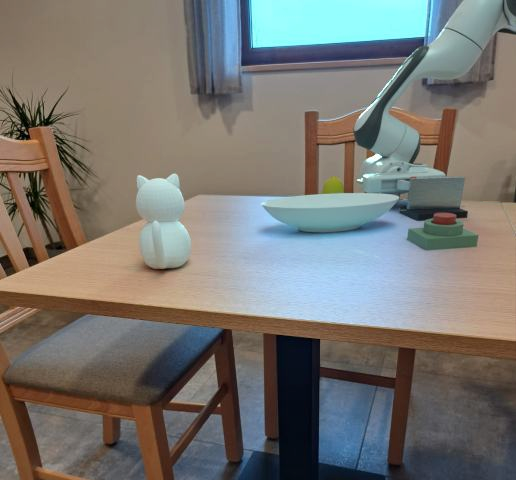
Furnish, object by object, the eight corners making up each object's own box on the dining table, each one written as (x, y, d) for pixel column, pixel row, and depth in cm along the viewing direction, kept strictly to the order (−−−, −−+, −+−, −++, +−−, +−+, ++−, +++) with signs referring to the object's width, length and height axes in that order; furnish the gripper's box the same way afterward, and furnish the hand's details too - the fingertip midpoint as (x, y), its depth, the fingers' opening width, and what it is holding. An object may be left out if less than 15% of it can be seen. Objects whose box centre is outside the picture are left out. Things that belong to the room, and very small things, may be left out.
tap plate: (446, 206, 118) (447, 199, 117) (483, 220, 104) (484, 212, 103) (386, 210, 116) (386, 203, 115) (415, 224, 102) (416, 217, 101)
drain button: (448, 221, 89) (449, 212, 88) (459, 226, 85) (460, 216, 85) (428, 222, 88) (429, 213, 88) (438, 227, 85) (440, 217, 84)
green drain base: (454, 236, 93) (457, 215, 91) (476, 246, 86) (480, 225, 84) (406, 239, 92) (409, 219, 90) (425, 250, 85) (428, 228, 83)
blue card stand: (457, 207, 110) (463, 175, 106) (460, 208, 108) (465, 176, 105) (406, 208, 110) (410, 176, 107) (407, 209, 109) (411, 177, 106)
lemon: (322, 206, 124) (323, 174, 120) (343, 206, 123) (345, 174, 119) (320, 210, 119) (322, 177, 115) (342, 210, 118) (344, 177, 114)
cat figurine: (193, 254, 87) (185, 170, 80) (191, 275, 76) (182, 180, 69) (145, 256, 87) (132, 172, 80) (136, 278, 76) (121, 183, 69)
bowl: (267, 241, 93) (266, 211, 91) (257, 225, 107) (256, 197, 104) (409, 232, 96) (412, 202, 94) (382, 217, 110) (385, 190, 107)
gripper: (355, 167, 118) (374, 174, 106) (430, 163, 120) (458, 170, 108) (353, 193, 121) (372, 203, 109) (427, 188, 123) (454, 197, 111)
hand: (416, 186), depth 108 cm, fingers closed
